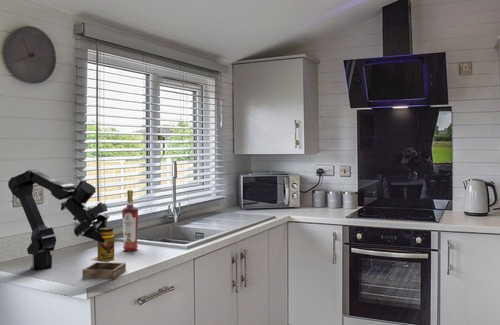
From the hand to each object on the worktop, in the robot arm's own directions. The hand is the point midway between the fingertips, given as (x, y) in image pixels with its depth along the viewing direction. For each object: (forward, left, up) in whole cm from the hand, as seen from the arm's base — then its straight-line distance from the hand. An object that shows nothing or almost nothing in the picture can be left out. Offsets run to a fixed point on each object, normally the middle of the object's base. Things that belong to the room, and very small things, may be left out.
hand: (107, 240), depth 169 cm
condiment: (-1, +1, -8) cm, 8 cm away
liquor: (+22, +33, -13) cm, 41 cm away
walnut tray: (-1, +1, -13) cm, 13 cm away
